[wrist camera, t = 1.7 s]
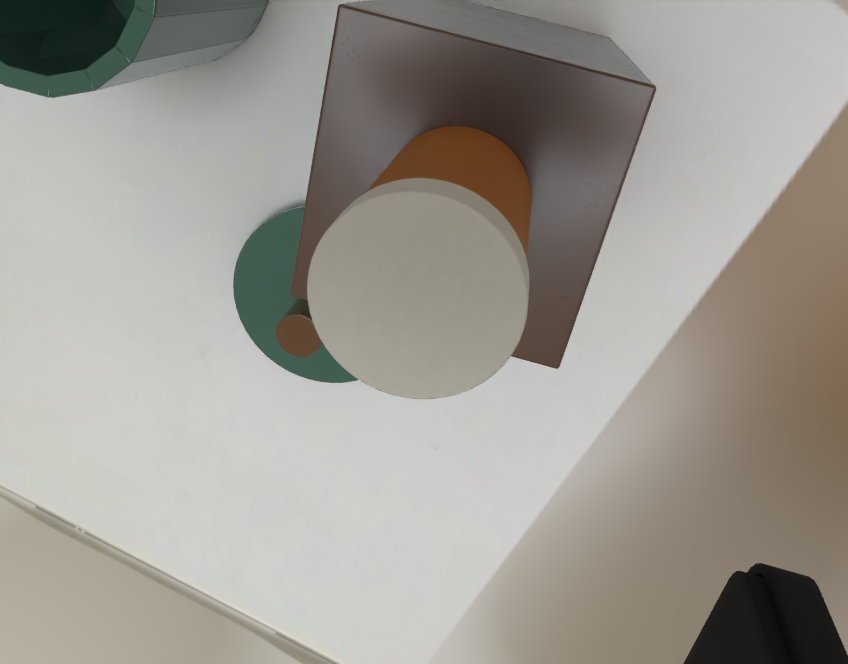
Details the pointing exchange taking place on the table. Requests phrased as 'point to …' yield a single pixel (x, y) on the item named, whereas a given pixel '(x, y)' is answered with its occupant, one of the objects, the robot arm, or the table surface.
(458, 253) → the vial
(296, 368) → the lid
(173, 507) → the table surface
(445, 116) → the stand
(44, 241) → the table surface
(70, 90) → the tin
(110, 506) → the table surface
